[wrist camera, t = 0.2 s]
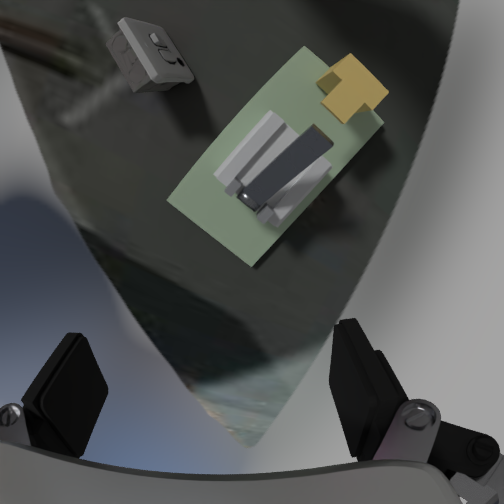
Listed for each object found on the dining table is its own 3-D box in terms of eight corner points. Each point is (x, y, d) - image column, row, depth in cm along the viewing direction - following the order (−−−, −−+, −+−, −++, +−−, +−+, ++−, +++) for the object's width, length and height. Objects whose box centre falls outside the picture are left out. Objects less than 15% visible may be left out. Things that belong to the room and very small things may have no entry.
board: (302, 48, 32) (318, 26, 24) (380, 122, 36) (412, 121, 27) (168, 198, 39) (150, 215, 31) (251, 263, 42) (253, 294, 34)
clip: (330, 67, 32) (353, 51, 24) (363, 98, 33) (392, 91, 25) (296, 102, 33) (311, 92, 26) (330, 133, 35) (353, 133, 27)
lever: (314, 121, 24) (311, 127, 23) (334, 141, 24) (332, 148, 23) (239, 191, 32) (234, 199, 31) (256, 206, 33) (251, 214, 32)
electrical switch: (197, 80, 33) (175, 68, 25) (162, 102, 35) (132, 98, 26) (163, 27, 30) (135, 6, 22) (131, 49, 31) (96, 35, 23)
